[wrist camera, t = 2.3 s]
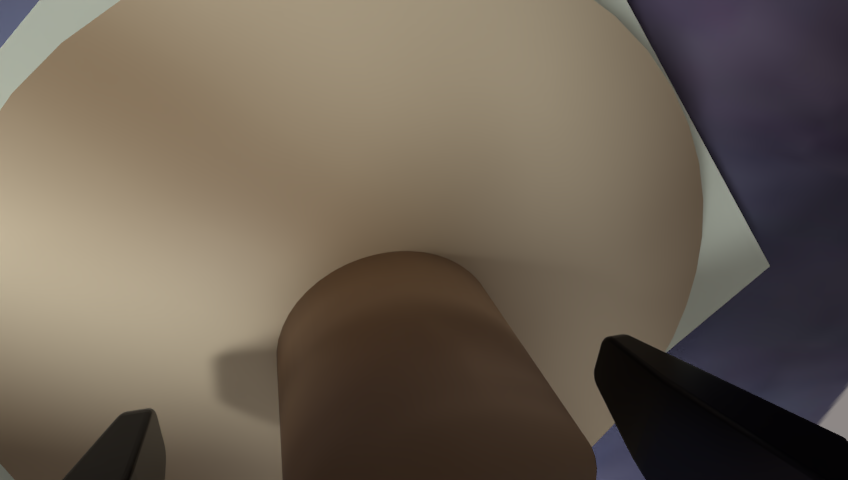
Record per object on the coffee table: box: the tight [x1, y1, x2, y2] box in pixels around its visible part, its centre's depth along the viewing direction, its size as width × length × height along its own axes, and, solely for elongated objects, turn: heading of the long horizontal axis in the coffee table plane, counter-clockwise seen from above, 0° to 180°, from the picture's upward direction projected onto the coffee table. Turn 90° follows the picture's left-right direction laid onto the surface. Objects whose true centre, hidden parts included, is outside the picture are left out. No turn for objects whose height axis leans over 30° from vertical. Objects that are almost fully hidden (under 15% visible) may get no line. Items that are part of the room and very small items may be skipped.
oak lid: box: [0, 0, 703, 480], centre depth 8 cm, size 13×13×4 cm
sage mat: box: [0, 0, 770, 480], centre depth 10 cm, size 14×14×1 cm
